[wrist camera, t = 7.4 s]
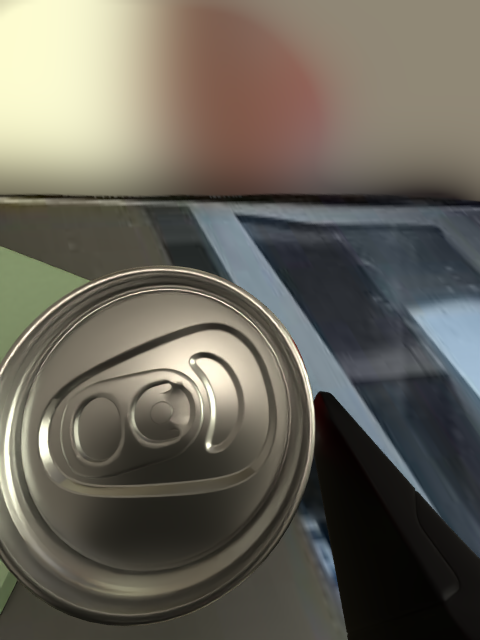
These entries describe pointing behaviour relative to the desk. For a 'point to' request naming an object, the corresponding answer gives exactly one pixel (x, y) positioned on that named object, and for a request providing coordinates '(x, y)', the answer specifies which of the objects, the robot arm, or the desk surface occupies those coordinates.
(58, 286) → the board
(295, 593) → the desk surface
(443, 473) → the desk surface
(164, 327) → the soda can
